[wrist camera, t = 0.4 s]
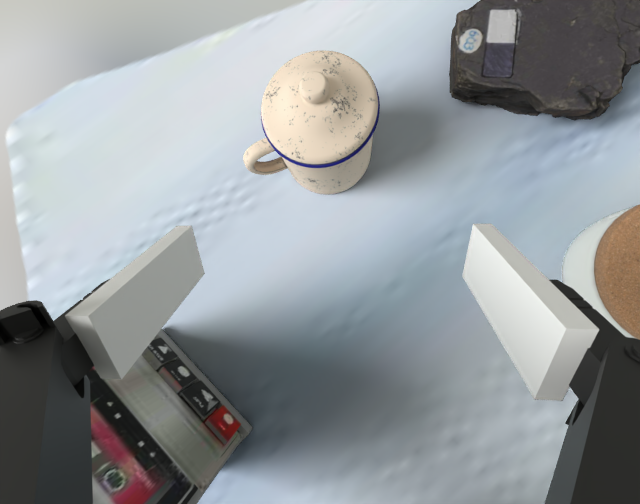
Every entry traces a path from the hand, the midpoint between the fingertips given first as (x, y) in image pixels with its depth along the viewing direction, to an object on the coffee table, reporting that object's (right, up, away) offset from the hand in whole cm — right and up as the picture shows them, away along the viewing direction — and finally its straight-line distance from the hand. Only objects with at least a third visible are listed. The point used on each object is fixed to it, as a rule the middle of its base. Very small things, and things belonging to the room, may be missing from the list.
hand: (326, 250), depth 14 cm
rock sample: (+21, +18, +16) cm, 32 cm away
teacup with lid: (-1, +9, +17) cm, 20 cm away
